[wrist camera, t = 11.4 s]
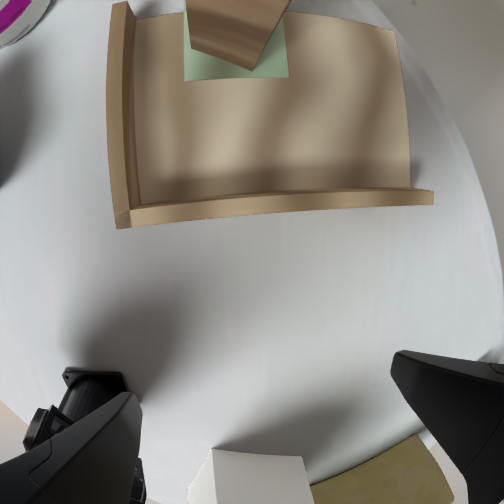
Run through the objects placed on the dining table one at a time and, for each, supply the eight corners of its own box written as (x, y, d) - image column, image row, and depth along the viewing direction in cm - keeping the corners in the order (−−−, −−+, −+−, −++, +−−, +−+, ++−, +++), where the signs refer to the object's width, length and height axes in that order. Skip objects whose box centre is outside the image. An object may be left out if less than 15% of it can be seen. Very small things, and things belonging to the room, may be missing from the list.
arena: (130, 219, 19) (116, 229, 16) (125, 14, 14) (113, -7, 11) (407, 198, 22) (433, 204, 18) (389, 23, 17) (410, 10, 14)
